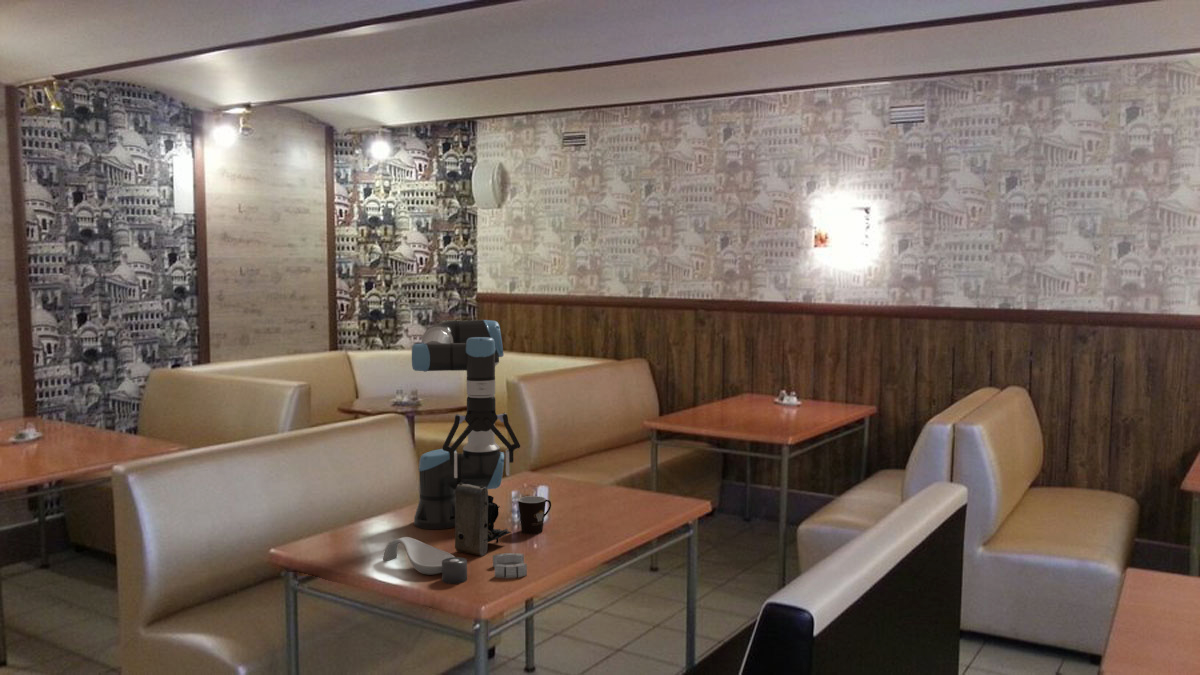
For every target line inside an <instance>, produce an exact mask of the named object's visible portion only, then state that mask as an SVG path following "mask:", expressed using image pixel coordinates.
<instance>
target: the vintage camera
mask: <svg viewBox="0 0 1200 675" xmlns="http://www.w3.org/2000/svg"><path fill="white" fill-rule="evenodd" d="M455 494H456V500H455V527H454V530H455V531H454V549H455V550H456V551H457V552H460V553H465V554H470V555H475V556H480V557H484V556H485V555H486V554H487V552H488V543H489V542H493V541H495V542H496V543H497V544H499V542H500V541H499V539H500V538H502V537H505V536H506V535H508V534H510V533H512V531H509V530H508V528H505V529H500V528H495V523H496V520H498V517H499V513H500V512H499V508H500V507H501V506H500V505H498V504H497V503H496V502H494V496H493V495H489V489H487V488H486V487H485V486H483V485H481V486H473V485H470V484H464V483H460V484H459V485H457V488H456V490H455Z"/></svg>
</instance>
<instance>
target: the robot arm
mask: <svg viewBox="0 0 1200 675" xmlns="http://www.w3.org/2000/svg"><path fill="white" fill-rule="evenodd" d="M503 347H504V346H503V340H502V332H501V327H500V324H499V322H498V321H496V320H492V319H491V320H490V319H462V320H461V319H460V320H452V319H451V320H447V321H441V322H438V323H436V324H433V325H432V326H430V327H429V328H427V329H426V330H425V332H423V334H422V337H421V343H414V344H413V345H412V347H411V367H412V369H413V371H416V372H440V371H441V372H444V371H445V372H447V371H450V372H451V371H452V372H453V371H454V372H455V371H456V372H457V371H458V372H459V371H466V381H465V382H466V395H467V397H466V413H465V415H460V414H455V415H454V422H453V424H452V427H451V429H450V430H449V433H448V434H447V437H446V439H445V440H444V443H443V445H442V448H440V449H439V448H438V449H435V450H430V451H428V452H425V453H423V454H421V456H420V458H419V462H418V463H419V467H418V472H419V502H418V505H417V508H416V511H415V514H414V519H413V520H414V526H415V527H417V528H420V529H423V530H424V529H425V530H444V529H445V530H446V529H451V528H455V500H456V494H455V490H456V488H457V485H459V484H460V483H464V484H470V485H473V486H481V485H483V486H485V487H486V488H487V490H492V489H493V490H494V489H495V490H496V489H498V488H500V487H501V485H502V480H503V474H504V473H503V472H504V465H505V475H506V477H510V463H511V464H512V463H514V451H515V450H517V449H519V448H521V444H520V442H519V440H518V439H517V436H516V435H515V433H514V430H513V428H512V426H511V425H510V422H509V417H508V414H507V413H506V412H504V413H501V414H497V413H496V408H497V407H496V396H495V395H496V367H497V365H499V363H500V358H502V357H504V348H503ZM497 420H499V421H500V422H501V423H503V425H504V427H505V429H506V431H507V433H508V434H509V436H510V439H511V440H512V442H513V444H512V443H511V442H509V440H508V439H507V438H506V437H505V436H504V435H503V434H502V432H501V431H500V430H499V429H498V428H497V427H496V425H495V424H496V422H497ZM463 421H465V422H466V424H467V426H466V428H465V429H464V430H463V432H461V434H460V435H459V436H458V437H457V439H456V440H455V441H454V443H453V444H452V445H451V446H450V444H451V442H452V440H453V438H454V437H455V434H456V432H457V430H458V428H459V425H460V424H462V423H463ZM496 437H497V439H499V440H500V441H501V442H502V444H504V446H505V447H506V448H507V449H505V452H502V451H501V450H500V449H501V447H500V445H498V444H497V443H496ZM465 439H467V443H466V444H465V445H464V446H463V447H462V452H461V453H458V452H457V449H458V448H459V447H460V445H461V444H462V443H463V442H464V441H465ZM504 462H505V463H504Z"/></svg>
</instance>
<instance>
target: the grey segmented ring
mask: <svg viewBox="0 0 1200 675" xmlns="http://www.w3.org/2000/svg"><path fill="white" fill-rule="evenodd" d="M527 565H528V564H527V563H525V555H524V553H520V552H518V553H517V552H506V553H505V552H503V553H498V554H494V555H493V554H492V567H493V568H494V578H499V579H516V578H522V577H526V576H528V573H527V572H528V566H527Z"/></svg>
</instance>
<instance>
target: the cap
mask: <svg viewBox="0 0 1200 675" xmlns="http://www.w3.org/2000/svg"><path fill="white" fill-rule="evenodd" d="M441 581H442V583H445V584H447V585H448V584H449V585H455V584H456V585H457V584H462V583H465V582H466V581H468V560H467V558H464V557H458V556H457V557H456V556H454V557H452V558H447V559H444V560H443V561H442V573H441Z"/></svg>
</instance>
